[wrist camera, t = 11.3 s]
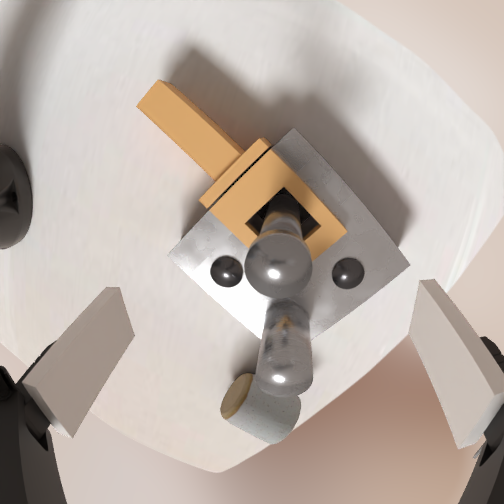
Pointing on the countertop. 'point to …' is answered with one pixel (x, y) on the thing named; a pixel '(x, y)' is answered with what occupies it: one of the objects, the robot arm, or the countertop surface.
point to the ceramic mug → (259, 410)
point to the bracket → (236, 169)
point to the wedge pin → (279, 252)
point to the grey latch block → (318, 288)
